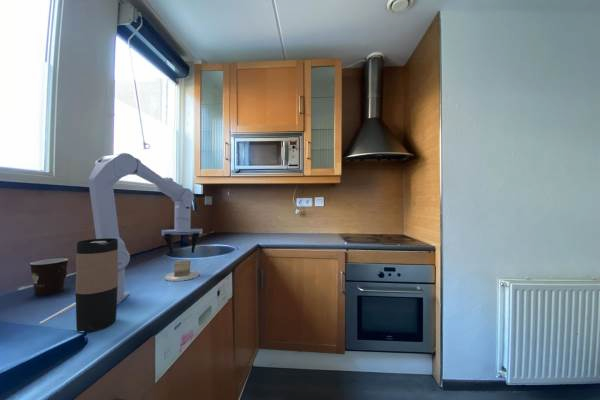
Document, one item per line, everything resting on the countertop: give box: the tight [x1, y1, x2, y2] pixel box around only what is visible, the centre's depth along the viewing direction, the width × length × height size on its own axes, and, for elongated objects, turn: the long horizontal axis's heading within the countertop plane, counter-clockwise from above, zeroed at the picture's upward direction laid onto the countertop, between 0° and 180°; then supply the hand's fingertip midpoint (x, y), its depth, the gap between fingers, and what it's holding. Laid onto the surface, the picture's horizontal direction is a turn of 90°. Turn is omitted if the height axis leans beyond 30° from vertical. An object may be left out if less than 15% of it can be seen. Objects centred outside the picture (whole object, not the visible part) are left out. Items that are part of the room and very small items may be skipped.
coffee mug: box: [29, 257, 69, 297], centre depth 78 cm, size 12×9×10 cm
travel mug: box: [75, 238, 118, 334], centre depth 57 cm, size 8×8×20 cm
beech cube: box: [173, 259, 191, 277], centre depth 95 cm, size 5×5×5 cm
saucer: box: [164, 269, 200, 282], centre depth 95 cm, size 12×12×1 cm
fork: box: [39, 301, 76, 324], centre depth 68 cm, size 3×20×2 cm, turn 6°
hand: (182, 252), depth 95 cm, fingers open, 7 cm apart
